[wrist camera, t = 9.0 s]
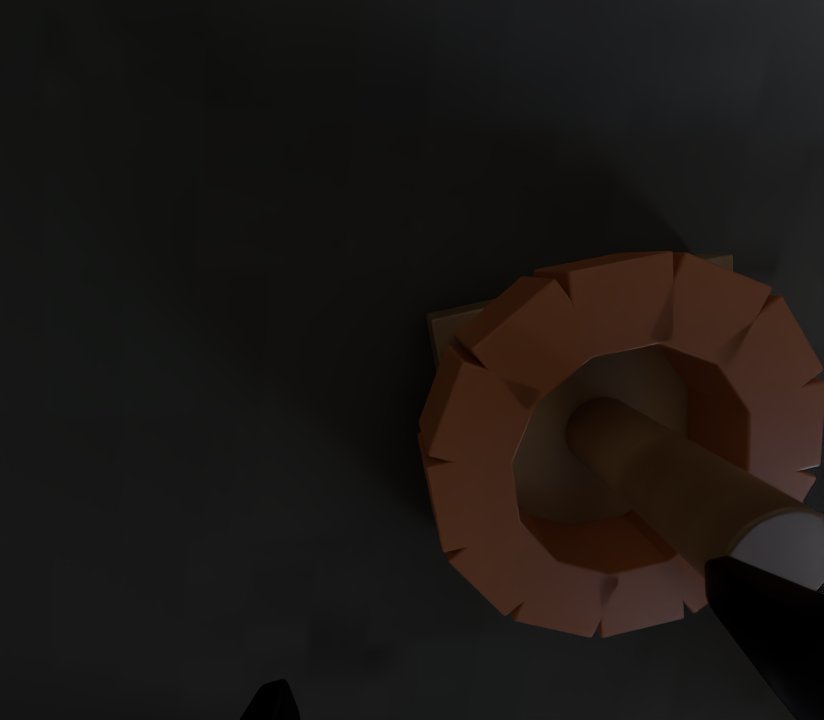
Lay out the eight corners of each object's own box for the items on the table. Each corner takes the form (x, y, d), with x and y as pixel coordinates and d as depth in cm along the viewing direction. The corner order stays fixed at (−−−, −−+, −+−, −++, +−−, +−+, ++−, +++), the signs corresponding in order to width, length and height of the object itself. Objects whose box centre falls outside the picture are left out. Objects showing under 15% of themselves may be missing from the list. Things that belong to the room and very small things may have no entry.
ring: (755, 225, 13) (838, 217, 11) (748, 539, 16) (813, 587, 13) (389, 298, 12) (393, 306, 10) (452, 609, 15) (466, 671, 13)
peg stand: (698, 253, 14) (1071, 242, 7) (705, 496, 17) (985, 694, 9) (424, 313, 14) (486, 375, 6) (472, 553, 17) (559, 809, 9)
